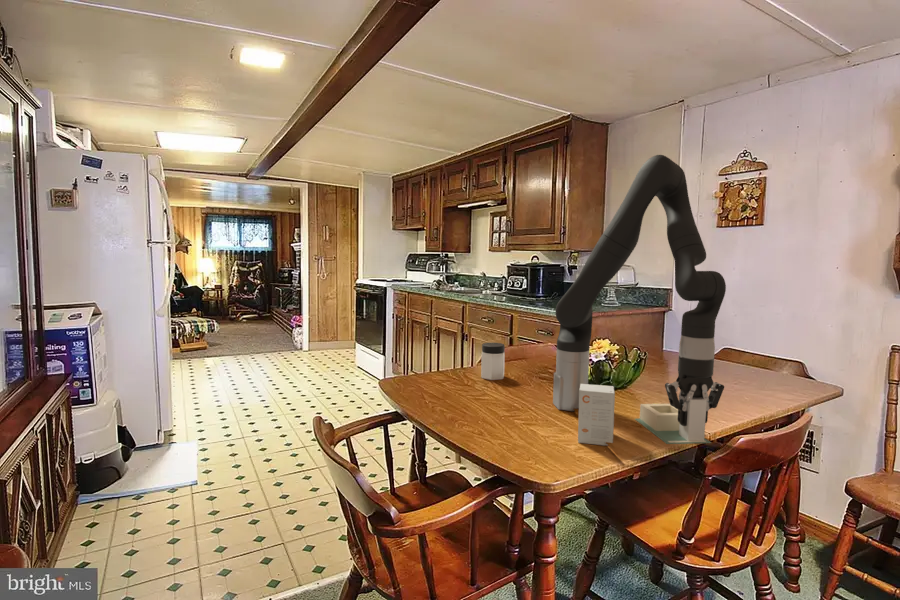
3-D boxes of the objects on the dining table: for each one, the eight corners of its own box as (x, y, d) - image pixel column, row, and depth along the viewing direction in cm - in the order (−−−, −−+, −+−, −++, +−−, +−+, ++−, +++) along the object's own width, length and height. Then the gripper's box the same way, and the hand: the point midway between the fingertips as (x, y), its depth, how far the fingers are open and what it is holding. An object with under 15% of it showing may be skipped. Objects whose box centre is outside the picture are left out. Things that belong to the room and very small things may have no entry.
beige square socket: (656, 430, 120) (656, 415, 120) (638, 417, 130) (639, 403, 130) (690, 430, 121) (691, 414, 121) (670, 417, 131) (671, 402, 130)
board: (666, 447, 113) (666, 443, 112) (634, 422, 129) (634, 418, 129) (711, 447, 113) (711, 442, 113) (673, 421, 130) (673, 417, 130)
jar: (509, 377, 175) (510, 344, 173) (496, 381, 169) (496, 347, 167) (489, 372, 181) (490, 341, 179) (476, 377, 174) (476, 344, 173)
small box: (612, 437, 119) (614, 385, 118) (613, 447, 113) (615, 393, 111) (578, 433, 121) (580, 382, 120) (577, 443, 115) (579, 389, 114)
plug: (687, 440, 114) (690, 398, 113) (677, 433, 119) (679, 392, 118) (704, 440, 115) (706, 398, 114) (693, 433, 119) (695, 392, 118)
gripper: (715, 351, 119) (710, 419, 120) (659, 351, 118) (655, 419, 119) (735, 358, 111) (730, 430, 113) (675, 358, 110) (671, 431, 112)
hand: (692, 424), depth 116 cm, fingers closed on plug, 4 cm apart
